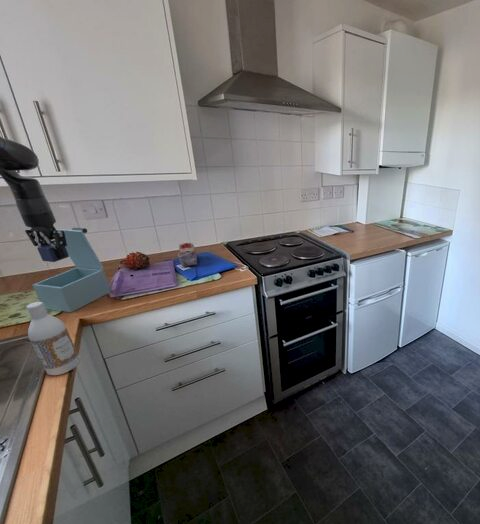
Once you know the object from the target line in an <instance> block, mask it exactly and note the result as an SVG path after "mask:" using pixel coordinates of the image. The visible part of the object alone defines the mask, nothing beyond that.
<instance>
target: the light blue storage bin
mask: <svg viewBox="0 0 480 524" xmlns="http://www.w3.org/2000/svg"><path fill="white" fill-rule="evenodd" d="M32 287H33V289H34V291H35V294H36V296H37V298H38V300H39V302H43V304H44V306H45V308H46V310H50V311H51V310H53V311H58V312H67V313H73V312H75V311H77V310H79V309H80V308H83V307H84V306H86V305H88V304H90V303H92V302H94V301H96V300H98V299H100V298H102V297H104V296H105V295H108V294H110V293H111V292H112V290H111V287H110V285H109V281H108V279H107V276H106V273H105V270H104V269H96V268H86V267H76V266H75V267H74V268H71V269H69V270H66V271H64V272H60V273H58V274H56V275H54V276H51V277H48V278H46V279H44V280H43V279H42V280H41V281H39V282H36V283H33V284H32Z"/></svg>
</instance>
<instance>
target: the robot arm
mask: <svg viewBox="0 0 480 524" xmlns="http://www.w3.org/2000/svg"><path fill="white" fill-rule="evenodd" d="M39 163H40V161H39V158H38V155H37V154H36V153H35V152H34V151H33V150H32V149H31V148H29V147H28V146H26V145H24V144H22V143H19V142H17V141H14V140H11V139H8V138H6V137H3V136H1V135H0V177H1V178H2V179H3V180H4V182H5V183H6V184H7V186H8V187H9V189H10V193H11V194H12V196H13V198H14V201H15V204H16V205H15V206H16V208H17V210H18V213H19V214H20V216H21V219H22V221H23V224H24V225H25V227H27V228H28V229H25V230H24V232H25V234H26V236H27V237H28V239H29V240H30V241H31V243H32V245H33V246H34V247H41V246H44V245H47V244H50V245H51V246H52V247H53V249H54V251H55V254H56V256H57V258H58V259H60V260H59V261H61V260H64V259H66V256H65V253H64V251H63V247H65V246H67V243H66V238H65V233H64V231H63V230H62V231H57V230H56V229H57V228H56V227H55V226H54V224H56V223H57V220H56V217H55V214H54V213H53V210H52V208H51V205H50V203H49V201H48V199H47V197H46V195H45V192H44V190H43V188H42V186H41V182H40V181H39V180H38V179H36V178H34V177H27V176H23V175H21V174H19V173H18V172H17V171H32V170H35V169H37V168H38V166H39ZM61 242H62V243H61ZM54 243H56V245H55V244H54Z"/></svg>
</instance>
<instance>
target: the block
mask: <svg viewBox="0 0 480 524" xmlns="http://www.w3.org/2000/svg"><path fill="white" fill-rule="evenodd" d="M54 244H55V245H56V242H55V243H54ZM36 249H37V252H38V253H39V256H40V258H41V260H42V261H43V262H49V263H55V262H59V261H61V260H60V259H58V258H57V256H56V254H55V251H54V249H53V247H52V246H51V245H50V244H47V245H44V246H41V247H38V246H36ZM63 251H64V253H65V256H66V258H70V256H69V255H68V253H67V250H66V248H65V247H63ZM66 258H65V259H66Z"/></svg>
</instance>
